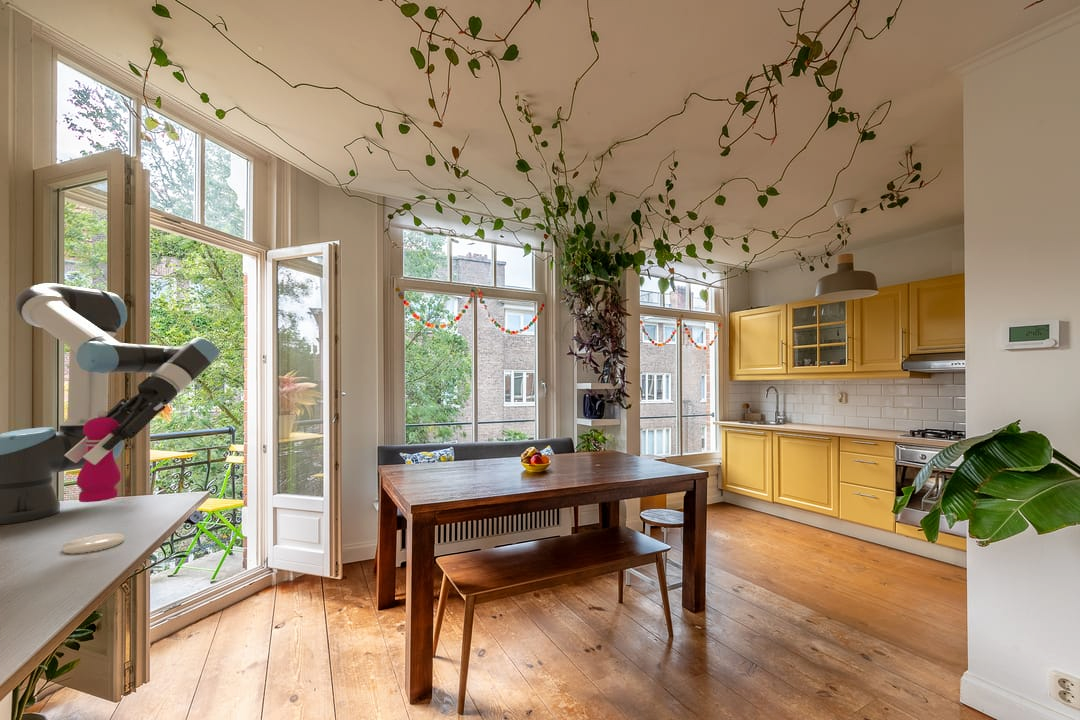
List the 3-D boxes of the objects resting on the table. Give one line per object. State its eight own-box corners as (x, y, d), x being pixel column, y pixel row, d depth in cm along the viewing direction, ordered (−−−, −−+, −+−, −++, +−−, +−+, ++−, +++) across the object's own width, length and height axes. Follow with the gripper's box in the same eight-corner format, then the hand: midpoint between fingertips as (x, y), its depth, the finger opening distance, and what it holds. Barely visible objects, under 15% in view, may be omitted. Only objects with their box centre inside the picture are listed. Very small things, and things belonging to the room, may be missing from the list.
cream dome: (88, 538, 107) (88, 534, 107) (135, 536, 108) (135, 532, 108) (48, 554, 97) (48, 549, 97) (100, 552, 98) (100, 548, 98)
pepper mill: (128, 495, 106) (132, 409, 107) (95, 503, 99) (99, 411, 100) (101, 494, 107) (104, 409, 108) (66, 502, 100) (70, 411, 101)
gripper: (200, 395, 116) (121, 472, 99) (150, 394, 122) (68, 467, 105) (179, 374, 111) (92, 452, 95) (128, 374, 117) (38, 447, 101)
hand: (79, 459), depth 100 cm, fingers closed on pepper mill, 6 cm apart
